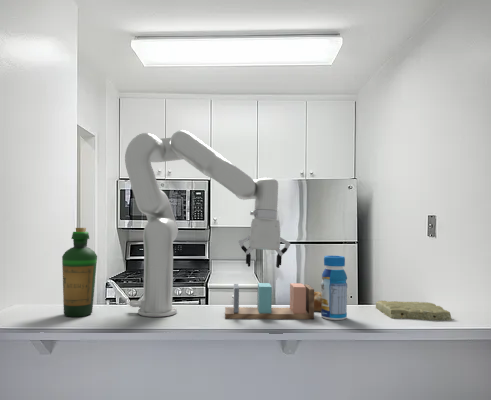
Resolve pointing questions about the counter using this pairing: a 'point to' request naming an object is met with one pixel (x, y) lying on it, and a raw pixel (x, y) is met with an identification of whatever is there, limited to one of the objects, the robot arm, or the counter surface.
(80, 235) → the bottle
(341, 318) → the beverage bottle
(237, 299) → the bookend
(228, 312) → the wooden book rack
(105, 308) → the counter surface
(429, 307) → the decorative tile
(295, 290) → the salmon pink block
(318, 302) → the bread roll
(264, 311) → the teal rectangular block
